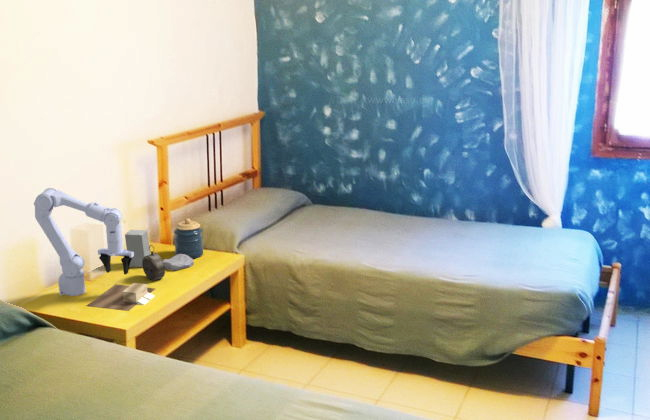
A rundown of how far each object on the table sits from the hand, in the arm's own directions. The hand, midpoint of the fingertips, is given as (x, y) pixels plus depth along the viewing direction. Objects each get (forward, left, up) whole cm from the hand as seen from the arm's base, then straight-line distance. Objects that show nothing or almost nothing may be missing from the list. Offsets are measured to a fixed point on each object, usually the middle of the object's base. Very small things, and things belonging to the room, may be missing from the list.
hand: (117, 272), depth 275 cm
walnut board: (+4, -5, -9) cm, 11 cm away
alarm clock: (+7, +16, -10) cm, 20 cm away
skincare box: (-8, +32, -10) cm, 34 cm away
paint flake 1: (+15, -8, -9) cm, 19 cm away
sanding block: (+10, -5, -8) cm, 14 cm away
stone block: (+10, +35, -10) cm, 38 cm away
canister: (+8, +50, -10) cm, 52 cm away
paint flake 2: (+15, -3, -9) cm, 17 cm away
